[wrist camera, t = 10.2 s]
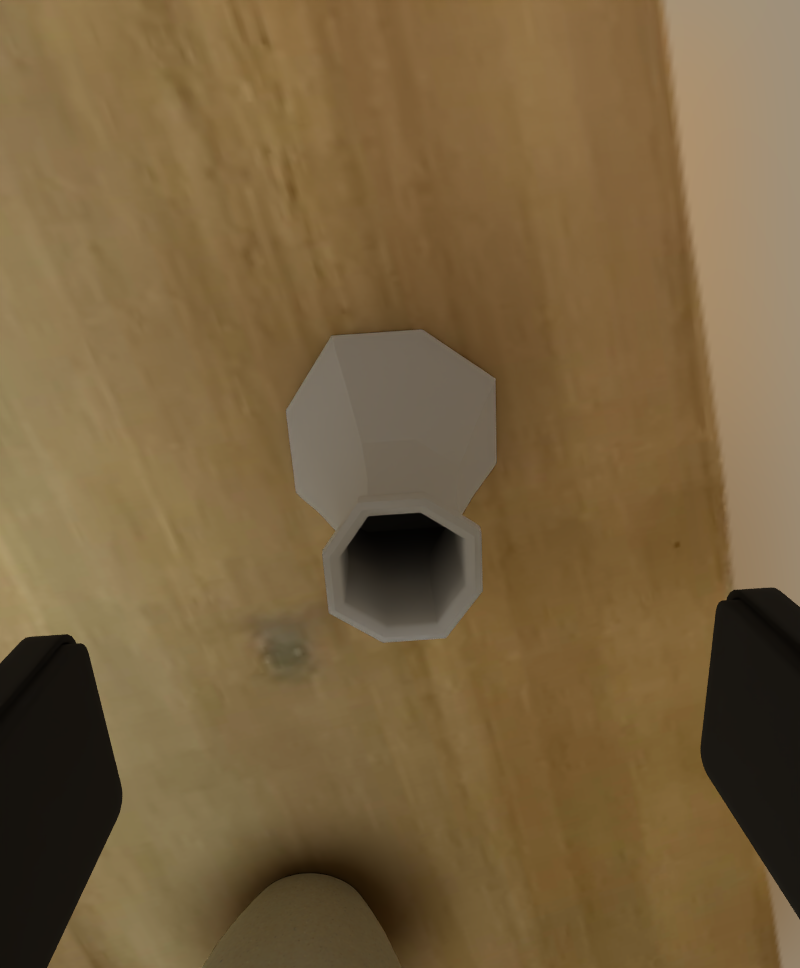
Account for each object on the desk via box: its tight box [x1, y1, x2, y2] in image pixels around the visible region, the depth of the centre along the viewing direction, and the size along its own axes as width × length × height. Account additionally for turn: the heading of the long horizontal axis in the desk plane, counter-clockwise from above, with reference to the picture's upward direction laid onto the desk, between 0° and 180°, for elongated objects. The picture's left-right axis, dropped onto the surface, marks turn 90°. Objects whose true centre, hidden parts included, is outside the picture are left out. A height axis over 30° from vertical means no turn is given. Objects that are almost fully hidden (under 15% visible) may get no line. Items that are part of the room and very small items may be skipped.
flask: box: [286, 329, 497, 643], centre depth 17 cm, size 7×7×10 cm
